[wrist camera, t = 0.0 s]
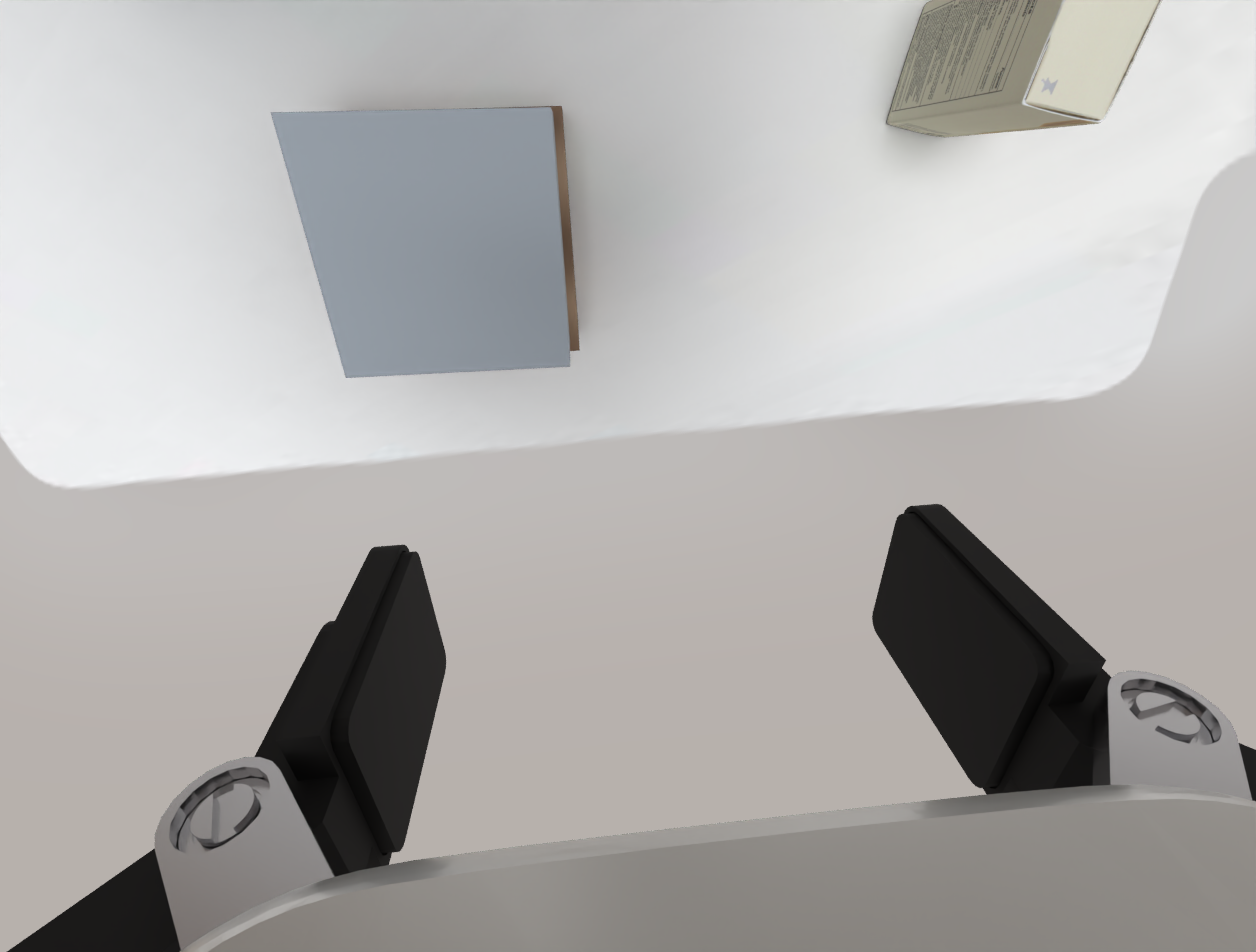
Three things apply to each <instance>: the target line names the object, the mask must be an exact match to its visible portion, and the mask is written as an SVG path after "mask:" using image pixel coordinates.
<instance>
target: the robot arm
mask: <svg viewBox="0 0 1256 952" xmlns="http://www.w3.org/2000/svg"><path fill="white" fill-rule="evenodd" d="M872 617H873V618H872V619H873V626H874V629H875V631H876V633H877V635H878V636H879V638H880V639H881V641H882V642H883V644H884V646H885V647H886V649H887V650H888V652H889V654H890V655H891V657H892V658H893V660H894V661H895V663H896V665H897V666H898V668H899V669H900V671H901V673H902V674H903V676H904V677H905V679H906V680H907V682H908V684H909V685H910V687H911V688H912V690H913V691H914V693H915V694H916V696H917V698H918V699H919V701H920V702H921V704H922V706H923V707H924V709H925V710H926V712H927V713H928V715H929V717H930V718H931V720H932V721H933V723H934V724H935V726H936V727H937V729H938V731H939V732H940V734H941V735H942V737H943V739H944V740H945V742H946V743H947V745H948V746H949V748H950V750H951V751H952V752H953V754H954V756H955V757H956V759H957V760H958V762H959V764H960V765H961V767H962V768H963V770H964V771H965V773H966V775H967V776H968V778H969V779H970V780H971V782H972V783H973V784H974V785H975V786H977V787H979V788H983V789H984V791H985V792H986V794H987V795H979V796H969V797H960V798H950V799H941V800H931V801H922V802H912V803H903V804H893V805H883V806H875V807H864V808H855V809H846V810H837V811H827V812H818V813H810V814H800V815H791V816H782V817H772V818H763V819H755V820H745V821H736V822H727V823H719V824H709V825H701V826H691V827H682V828H674V829H665V830H656V831H647V832H639V833H631V834H622V835H613V836H605V837H596V838H587V839H579V840H570V841H561V842H553V843H544V844H536V845H527V846H518V847H511V848H503V849H495V850H488V851H482V852H481V851H480V852H474V853H465V854H458V855H451V856H443V857H436V858H429V859H421V860H413V861H408V862H403V863H397V864H391V865H389V861H390V858H391V854H392V852H399V851H400V850H401V849H402V847H403V845H404V842H405V838H406V834H407V830H408V826H409V822H410V817H411V813H412V809H413V805H414V801H415V796H416V792H417V788H418V784H419V780H420V775H421V771H422V767H423V763H424V759H425V754H426V750H427V745H428V741H429V737H430V733H431V729H432V725H433V721H434V717H435V712H436V708H437V703H438V699H439V696H440V691H441V687H442V683H443V679H444V675H445V669H446V655H445V650H444V646H443V642H442V638H441V635H440V631H439V627H438V624H437V620H436V616H435V612H434V609H433V605H432V602H431V597H430V594H429V590H428V586H427V583H426V579H425V575H424V571H423V568H422V564H421V561H420V557H419V554H418V553H417V552H409V549H408V548H407V546H405V545H394V546H381V547H374V548H372V549H371V550H370V552H369V554H368V556H367V558H366V560H365V562H364V564H363V566H362V568H361V570H360V572H359V574H358V576H357V578H356V580H355V582H354V584H353V586H352V588H351V590H350V592H349V594H348V596H347V598H346V600H345V602H344V604H343V606H342V608H341V610H340V612H339V614H338V616H337V618H336V620H335V621H330V622H328V623H327V624H325V625H324V626H323V627H322V629H321V630H320V632H319V634H318V636H317V638H316V639H315V641H314V643H313V645H312V647H311V649H310V651H309V653H308V655H307V657H306V659H305V661H304V663H303V665H302V667H301V668H300V670H299V672H298V674H297V676H296V678H295V680H294V682H293V684H292V686H291V688H290V690H289V692H288V693H287V695H286V697H285V699H284V701H283V703H282V705H281V707H280V709H279V711H278V713H277V715H276V717H275V718H274V720H273V722H272V724H271V726H270V728H269V730H268V732H267V734H266V736H265V738H264V740H263V742H262V744H261V746H260V747H259V749H258V751H257V753H256V755H255V757H244V758H240V759H236V760H233V761H229V762H226V763H224V764H222V765H220V766H218V767H216V768H214V769H211V770H209V771H207V772H206V773H205V774H203V775H202V776H200V777H199V778H198V779H197V780H195V781H193V782H192V783H191V784H189V785H188V786H187V787H186V788H185V789H184V790H183V791H182V792H181V793H180V794H179V795H178V796H177V797H176V798H175V799H174V800H173V801H172V803H171V804H170V806H169V807H168V809H167V810H166V811H165V813H164V814H163V816H162V817H161V820H160V822H159V825H158V828H157V830H156V833H155V849H153V850H152V851H150V852H149V853H148V854H146V855H145V856H143V857H142V858H140V859H139V860H137V861H136V862H135V863H133V864H132V865H130V866H129V867H128V868H126V869H125V870H123V871H122V872H120V873H119V874H117V875H116V876H115V877H113V878H112V879H110V880H109V881H107V882H106V883H105V884H103V885H102V886H100V887H99V888H98V889H96V890H95V891H93V892H92V893H90V894H89V895H88V896H86V897H85V898H83V899H82V900H80V901H79V902H77V903H76V904H75V905H73V906H72V907H70V908H69V909H67V910H66V911H65V912H63V913H62V914H60V915H59V916H57V917H56V918H55V919H53V920H52V921H50V922H49V923H48V924H46V925H45V926H43V927H42V928H40V929H39V930H37V931H36V932H35V933H33V934H32V935H30V936H29V937H28V938H26V939H25V940H23V941H22V942H20V943H19V944H17V945H16V946H15V947H13V948H12V949H10V950H9V951H7V952H1256V750H1254V749H1252V748H1250V747H1247V746H1244V745H1242V744H1240V743H1238V739H1237V735H1236V732H1235V730H1234V728H1233V726H1232V724H1231V722H1230V721H1229V720H1228V719H1227V718H1226V716H1225V715H1224V714H1223V713H1222V712H1221V711H1220V710H1219V708H1217V707H1216V706H1215V705H1213V704H1212V703H1211V702H1210V701H1209V700H1207V699H1206V698H1205V697H1203V696H1202V695H1200V694H1199V693H1197V692H1195V691H1194V690H1192V689H1190V688H1188V687H1187V686H1185V685H1183V684H1181V683H1178V682H1176V681H1173V680H1171V679H1169V678H1166V677H1163V676H1160V675H1156V674H1152V673H1148V672H1140V671H1126V672H1121V673H1117V674H1116V675H1115V676H1113V677H1112V678H1111V677H1110V676H1109V675H1108V674H1107V673H1106V672H1105V671H1104V670H1103V669H1102V666H1103V665H1104V663H1105V661H1106V660H1105V659H1104V658H1103V657H1102V656H1101V655H1100V654H1099V653H1098V652H1097V651H1096V650H1095V649H1094V648H1093V647H1092V646H1090V645H1089V644H1088V643H1087V642H1086V641H1085V640H1084V639H1083V638H1082V637H1081V636H1080V635H1079V634H1078V633H1077V632H1076V631H1075V630H1074V629H1073V628H1072V627H1070V626H1069V625H1068V624H1067V623H1066V622H1065V621H1064V620H1063V619H1062V618H1061V617H1060V616H1059V615H1058V614H1057V613H1056V612H1055V611H1054V610H1052V609H1051V608H1050V607H1049V606H1048V605H1047V604H1046V603H1045V602H1044V601H1043V600H1042V599H1041V598H1040V597H1039V596H1038V595H1037V594H1036V593H1035V592H1034V591H1033V590H1031V589H1030V588H1029V587H1028V586H1027V585H1026V584H1025V583H1024V582H1023V581H1022V580H1021V579H1020V578H1019V577H1018V576H1017V575H1016V574H1015V573H1014V572H1012V571H1011V570H1010V569H1009V568H1008V567H1007V566H1006V565H1005V564H1004V563H1003V562H1002V561H1001V560H1000V559H999V558H998V557H997V556H996V555H995V554H993V553H992V552H991V551H990V550H989V549H988V548H987V547H986V546H985V545H984V544H983V543H982V542H981V541H980V540H979V539H978V538H977V537H975V535H974V534H972V533H971V532H970V531H969V530H968V529H967V528H966V527H965V526H964V525H963V524H962V523H961V522H960V521H959V520H958V519H957V518H956V517H955V516H954V515H952V514H951V513H950V512H949V511H948V510H947V509H946V508H945V507H943V506H942V505H939V504H932V505H919V506H910V507H908V508H907V509H906V510H905V512H904V514H901V515H899V516H898V517H897V520H896V523H895V527H894V531H893V535H892V539H891V543H890V547H889V551H888V555H887V559H886V563H885V567H884V571H883V575H882V579H881V583H880V587H879V591H878V595H877V599H876V603H875V607H874V611H873V616H872Z"/></svg>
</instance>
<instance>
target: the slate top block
mask: <svg viewBox="0 0 1256 952" xmlns="http://www.w3.org/2000/svg"><path fill="white" fill-rule="evenodd" d="M271 115H272V118H273V122H274V125H275V129H276V132H277V136H278V139H279V143H280V146H281V150H282V154H283V157H284V161H285V164H286V168H287V171H288V175H289V178H290V182H291V185H292V189H293V192H294V196H295V199H296V203H297V207H298V210H299V214H300V217H301V221H302V224H303V228H304V231H305V235H306V238H307V242H308V245H309V249H310V252H311V256H312V260H313V263H314V267H315V270H316V274H317V277H318V281H319V284H320V288H321V291H322V295H323V298H324V302H325V305H326V309H327V313H328V316H329V320H330V323H331V327H332V330H333V334H334V337H335V341H336V344H337V348H338V351H339V355H340V358H341V362H342V366H343V369H344V373H345V376H346V378H353V377H373V376H393V375H412V374H432V373H452V372H472V371H491V370H511V369H531V368H551V367H570V336H569V322H568V308H567V295H566V281H565V267H564V254H563V240H562V226H561V213H560V199H559V185H558V172H557V158H556V144H555V131H554V117H553V112H552V109H551V107H538V108H485V109H432V110H378V111H325V112H271Z"/></svg>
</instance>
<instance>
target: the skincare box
mask: <svg viewBox="0 0 1256 952" xmlns="http://www.w3.org/2000/svg"><path fill="white" fill-rule="evenodd" d="M1161 2H1162V0H932V1H930V2H928V3H926V5H925V6H924V9H923V12H922V15H921V17H920V20H919V23H918V26H917V29H916V32H915V34H914V37H913V40H912V43H911V46H910V50H909V53H908V56H907V59H906V62H905V65H904V68H903V71H902V74H901V77H900V81H899V84H898V87H897V90H896V94H895V97H894V100H893V104H892V107H891V110H890V114H889V117H888V120H887V123H888V124H889V125H892V126H896V127H900V128H903V129H907V130H911V131H915V132H919V133H923V134H928V135H933V136H939V137H954V136H967V135H978V134H988V133H1000V132H1012V131H1024V130H1035V129H1046V128H1056V127H1067V126H1077V125H1087V124H1097V123H1101V122H1102V121H1103V120H1104V119H1105V117H1106V115H1107V113H1108V111H1109V109H1110V108H1111V106H1112V104H1113V102H1114V100H1115V98H1116V96H1117V94H1118V92H1119V90H1120V88H1121V86H1122V84H1123V82H1124V80H1125V78H1126V76H1127V74H1128V72H1129V70H1130V68H1131V66H1132V64H1133V62H1134V60H1135V57H1136V55H1137V53H1138V51H1139V49H1140V47H1141V45H1142V43H1143V40H1144V38H1145V36H1146V34H1147V32H1148V30H1149V28H1150V25H1151V23H1152V21H1153V19H1154V17H1155V15H1156V12H1157V10H1158V8H1159V6H1160V4H1161Z"/></svg>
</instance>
